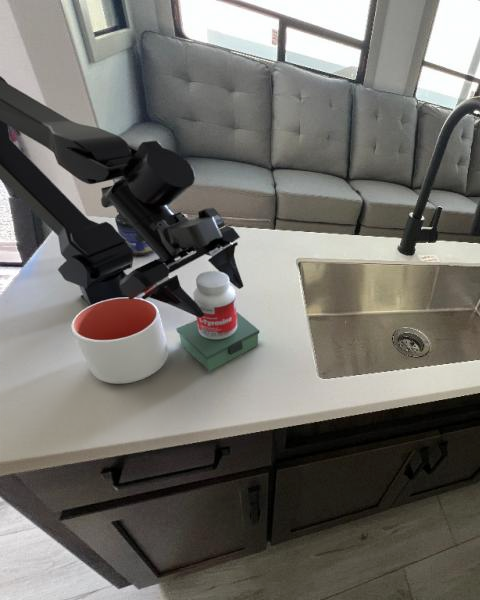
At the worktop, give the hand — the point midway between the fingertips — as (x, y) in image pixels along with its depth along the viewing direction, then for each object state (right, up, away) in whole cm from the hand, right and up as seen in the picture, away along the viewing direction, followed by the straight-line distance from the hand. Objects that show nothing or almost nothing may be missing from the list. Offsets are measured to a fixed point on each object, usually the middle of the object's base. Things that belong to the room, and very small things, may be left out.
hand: (223, 301), depth 55 cm
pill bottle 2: (-3, -5, +4) cm, 8 cm away
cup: (-15, -10, 0) cm, 18 cm away
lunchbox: (-4, -8, +7) cm, 11 cm away
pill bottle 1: (-32, +12, +23) cm, 41 cm away
